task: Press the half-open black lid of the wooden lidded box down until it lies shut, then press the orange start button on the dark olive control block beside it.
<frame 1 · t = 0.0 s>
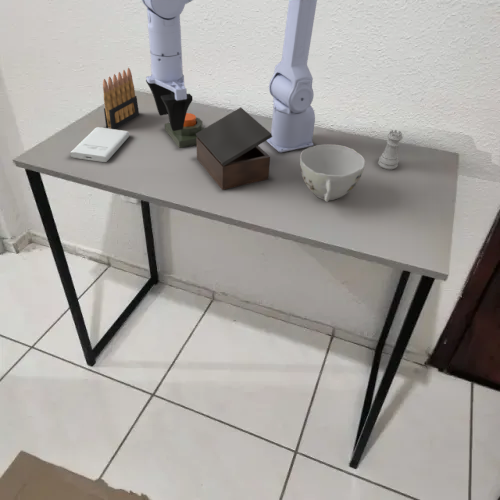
hand: (170, 121, 94), 10 cm above the table, tool pointing down, fingers open, 7 cm apart
ammunition clip: (123, 122, 116), on the table
lid: (232, 135, 96), point 8 cm above the table, hinge at 22.0°
hard drive: (101, 148, 106), on the table
wooden lidded box: (231, 169, 101), on the table
control block: (188, 136, 112), on the table
start button: (187, 120, 109), point 4 cm above the table, slide at 0.1 cm
teacup: (326, 196, 95), on the table
rook chess piece: (387, 166, 105), on the table
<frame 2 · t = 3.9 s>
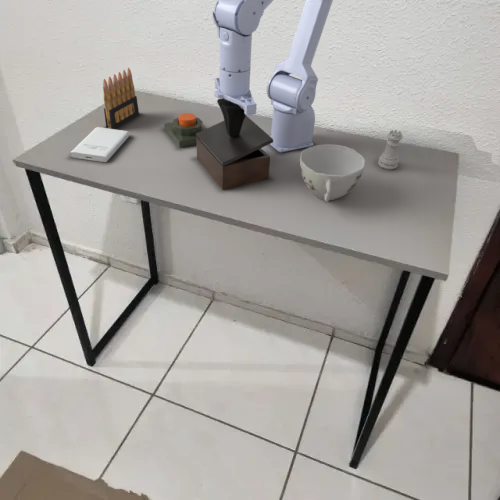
hand: (233, 134, 96), 8 cm above the table, tool pointing down, fingers closed, pressing on lid
lid: (233, 137, 96), point 7 cm above the table, hinge at 15.6°, touching gripper
everything else where it was.
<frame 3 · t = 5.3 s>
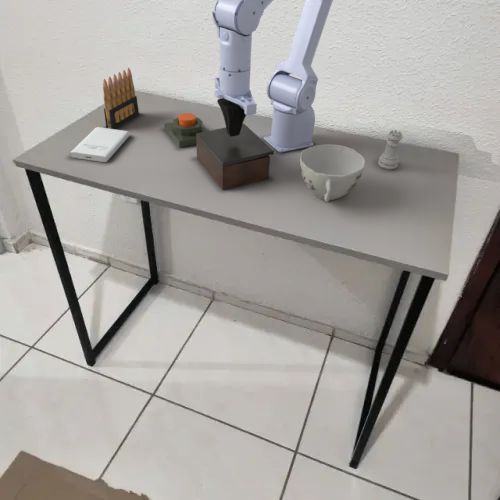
hand: (233, 134, 96), 8 cm above the table, tool pointing down, fingers closed
lid: (234, 143, 97), point 6 cm above the table, hinge at 1.7°
everything else where it was.
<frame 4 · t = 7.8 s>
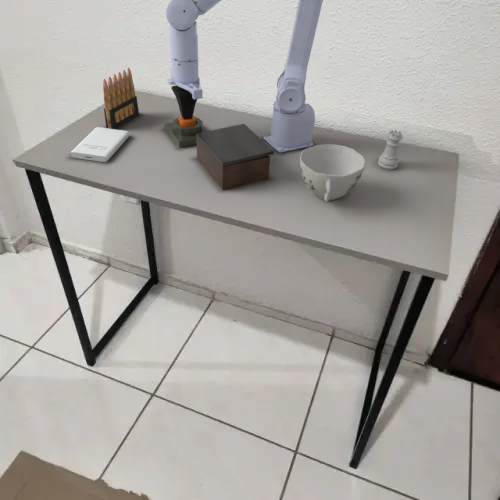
hand: (187, 117, 109), 5 cm above the table, tool pointing down, fingers closed, pressing on start button
start button: (187, 121, 110), point 4 cm above the table, slide at -0.2 cm, touching gripper
everything else where it was.
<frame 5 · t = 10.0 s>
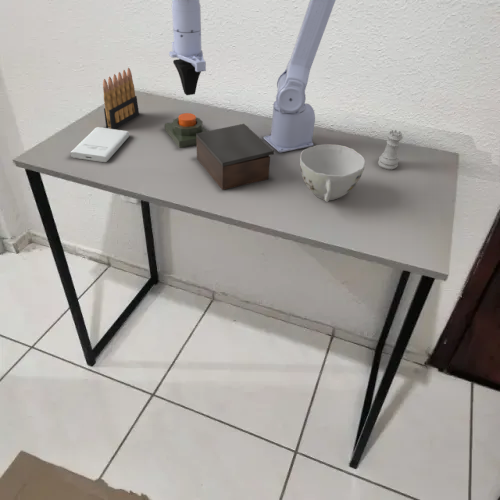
hand: (189, 93, 105), 10 cm above the table, tool pointing down, fingers closed
start button: (187, 120, 109), point 4 cm above the table, slide at 0.1 cm
everything else where it was.
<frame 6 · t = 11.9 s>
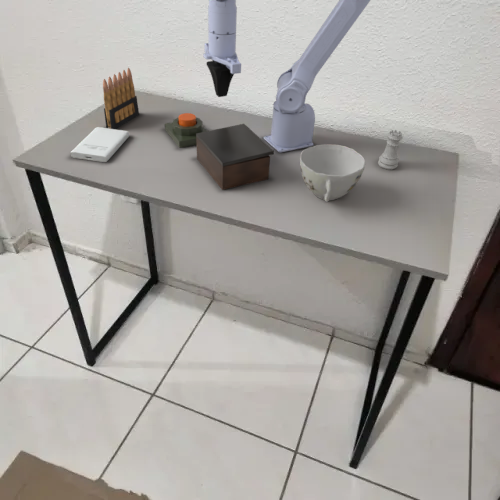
hand: (221, 95, 105), 10 cm above the table, tool pointing down, fingers closed
nothing on the table moved.
at the end: lid at +2° (first picture: +22°); start button pushed in 1.1 cm at the most during the clip, back to where it started at the end; start button slide at 0.1 cm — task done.
